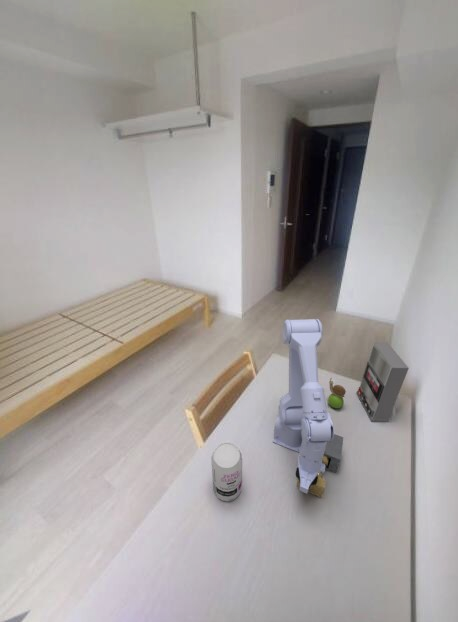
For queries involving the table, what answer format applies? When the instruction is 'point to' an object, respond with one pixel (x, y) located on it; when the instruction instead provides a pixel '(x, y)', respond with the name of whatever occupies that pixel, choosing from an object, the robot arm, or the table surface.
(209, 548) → the table surface
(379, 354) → the cassette tape recorder
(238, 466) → the supplement can
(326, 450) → the bore block
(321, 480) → the plunger with bar handle
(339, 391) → the snail figurine
